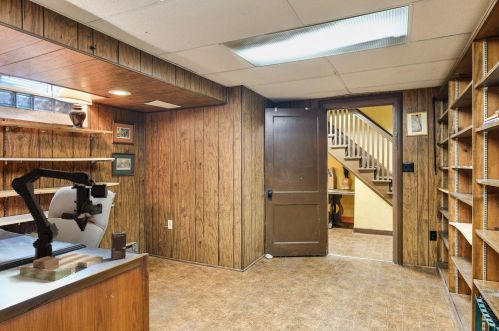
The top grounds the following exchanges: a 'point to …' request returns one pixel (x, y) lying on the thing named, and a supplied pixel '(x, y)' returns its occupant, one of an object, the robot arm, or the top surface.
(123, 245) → the box
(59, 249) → the top surface
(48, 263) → the block
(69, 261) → the trap board
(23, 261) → the top surface
